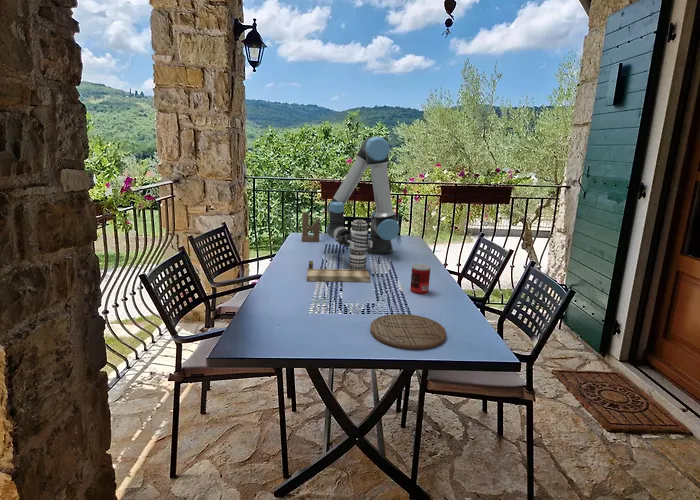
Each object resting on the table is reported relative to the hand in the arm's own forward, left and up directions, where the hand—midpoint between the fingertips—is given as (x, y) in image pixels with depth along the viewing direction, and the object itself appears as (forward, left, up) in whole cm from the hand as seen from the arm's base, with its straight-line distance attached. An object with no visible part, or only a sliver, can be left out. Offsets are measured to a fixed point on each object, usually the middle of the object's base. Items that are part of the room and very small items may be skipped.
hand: (362, 245), depth 205 cm
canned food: (-22, +24, -14) cm, 36 cm away
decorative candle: (+2, -4, -14) cm, 15 cm away
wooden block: (+25, -67, -14) cm, 73 cm away
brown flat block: (+24, -4, -14) cm, 28 cm away
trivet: (-8, +66, -15) cm, 68 cm away
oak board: (+12, +7, -14) cm, 19 cm away
